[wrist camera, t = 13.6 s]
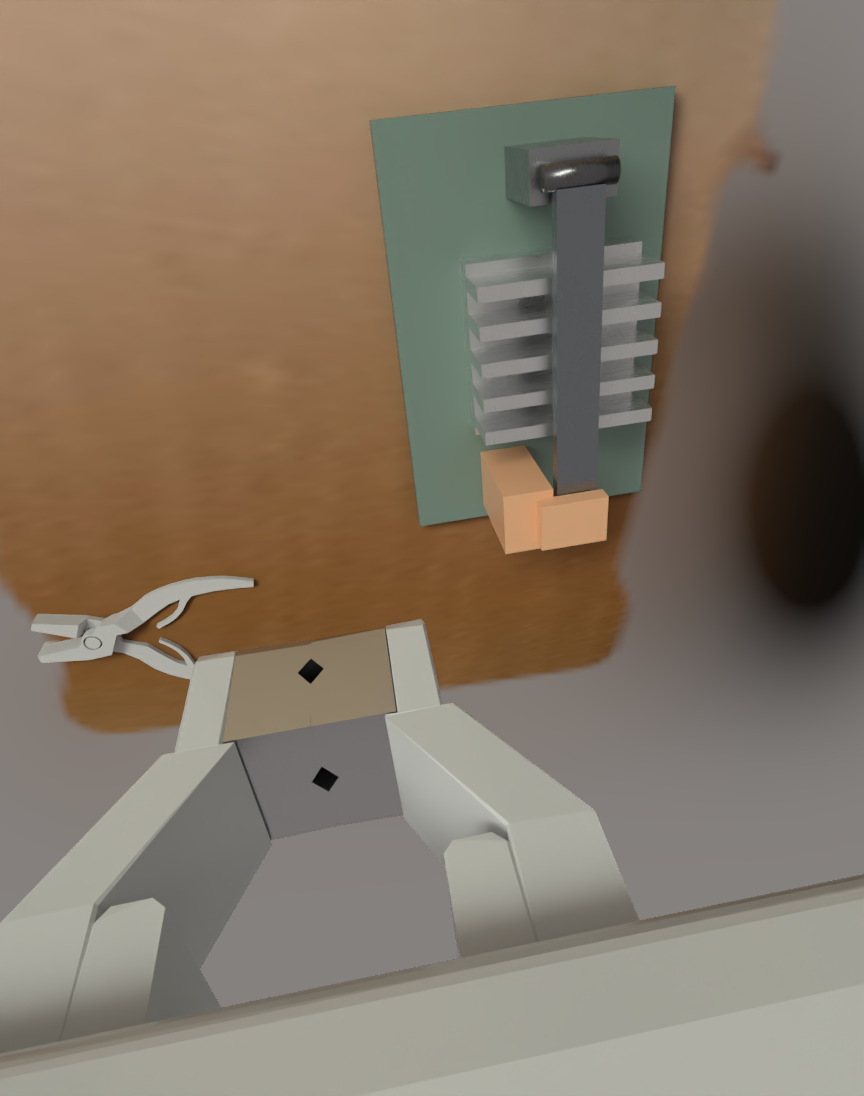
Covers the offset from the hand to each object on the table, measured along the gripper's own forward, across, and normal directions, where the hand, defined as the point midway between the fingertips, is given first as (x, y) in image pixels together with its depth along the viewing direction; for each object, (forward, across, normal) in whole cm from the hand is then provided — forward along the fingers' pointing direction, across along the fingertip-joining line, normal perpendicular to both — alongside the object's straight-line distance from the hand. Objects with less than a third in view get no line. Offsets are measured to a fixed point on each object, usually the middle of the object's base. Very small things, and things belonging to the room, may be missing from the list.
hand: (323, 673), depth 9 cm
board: (+34, -12, +6) cm, 37 cm away
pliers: (+35, +17, +24) cm, 45 cm away
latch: (+33, -11, +15) cm, 38 cm away
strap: (+28, -13, +6) cm, 31 cm away
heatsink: (+33, -13, +3) cm, 36 cm away
